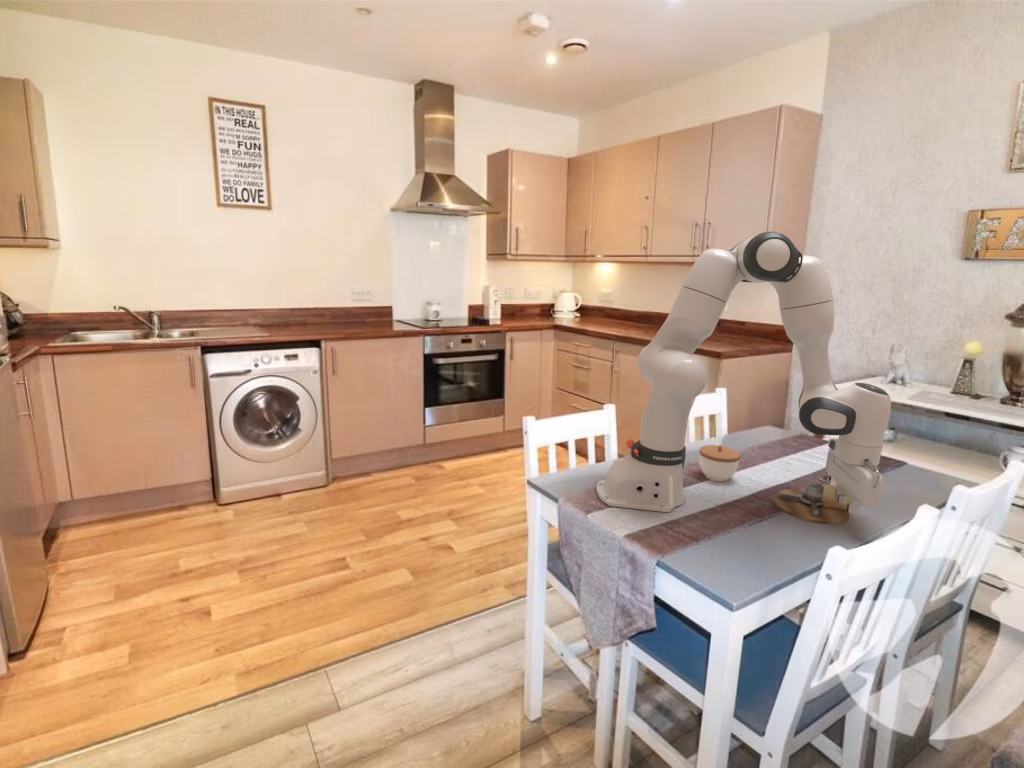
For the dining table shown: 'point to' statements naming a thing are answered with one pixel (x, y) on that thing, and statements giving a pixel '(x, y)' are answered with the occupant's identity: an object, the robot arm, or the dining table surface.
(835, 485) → the post
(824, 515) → the foot plate
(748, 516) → the dining table surface
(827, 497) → the capstan
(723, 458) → the lidded jar
